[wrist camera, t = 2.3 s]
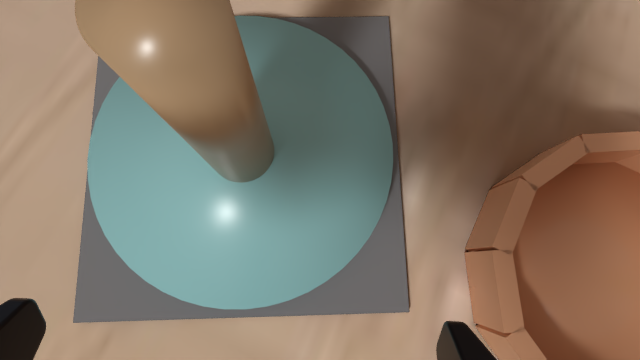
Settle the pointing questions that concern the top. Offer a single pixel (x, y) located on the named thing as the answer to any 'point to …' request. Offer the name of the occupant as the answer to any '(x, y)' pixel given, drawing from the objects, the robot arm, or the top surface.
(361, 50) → the mat
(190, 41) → the teal disc with post
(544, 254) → the bowl
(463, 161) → the top surface
